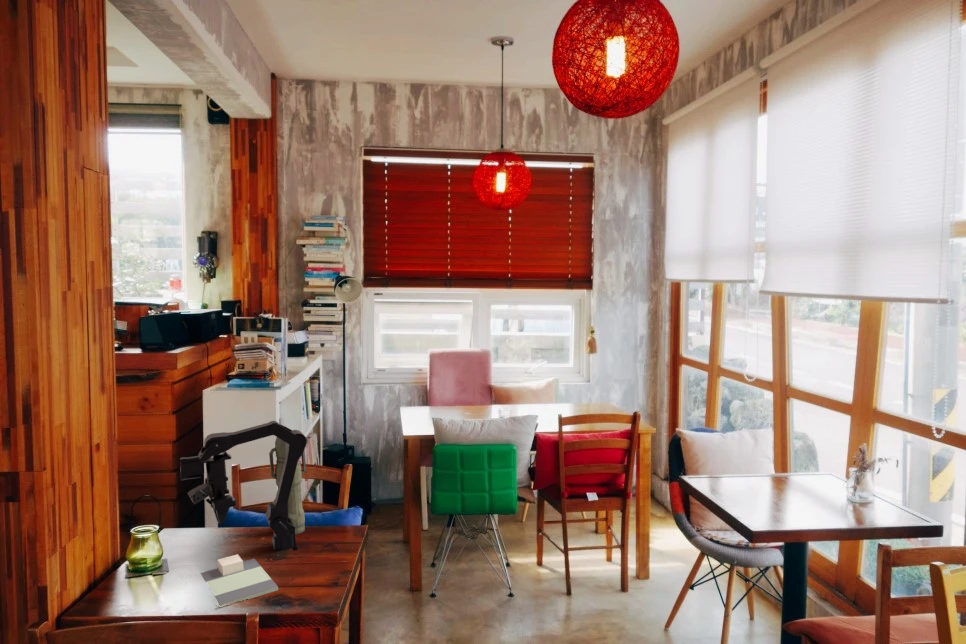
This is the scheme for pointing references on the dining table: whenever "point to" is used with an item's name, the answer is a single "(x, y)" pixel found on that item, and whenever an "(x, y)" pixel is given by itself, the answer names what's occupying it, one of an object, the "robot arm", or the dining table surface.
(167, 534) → the dining table surface
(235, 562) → the cream block
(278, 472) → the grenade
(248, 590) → the mats
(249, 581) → the board
